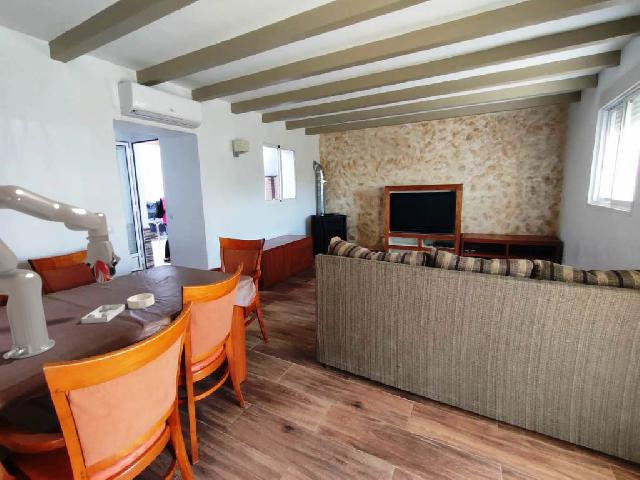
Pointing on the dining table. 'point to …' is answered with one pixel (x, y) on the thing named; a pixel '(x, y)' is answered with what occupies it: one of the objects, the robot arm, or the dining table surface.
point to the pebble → (106, 308)
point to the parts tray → (99, 311)
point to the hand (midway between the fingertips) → (104, 275)
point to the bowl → (140, 301)
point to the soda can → (102, 272)
